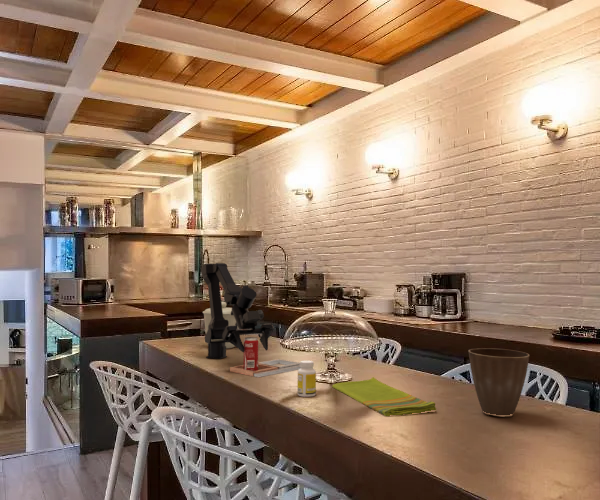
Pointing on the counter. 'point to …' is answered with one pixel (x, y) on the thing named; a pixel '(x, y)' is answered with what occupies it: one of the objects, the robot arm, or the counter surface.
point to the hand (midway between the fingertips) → (255, 350)
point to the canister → (226, 316)
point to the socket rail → (268, 368)
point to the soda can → (250, 354)
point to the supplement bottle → (306, 379)
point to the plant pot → (498, 378)
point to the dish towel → (383, 397)
